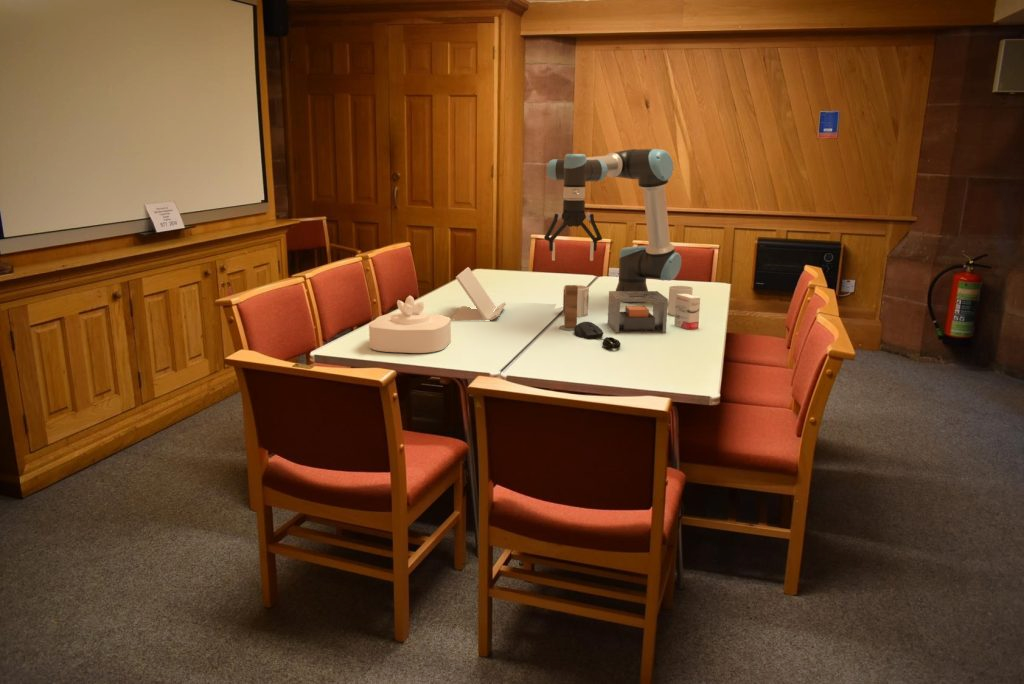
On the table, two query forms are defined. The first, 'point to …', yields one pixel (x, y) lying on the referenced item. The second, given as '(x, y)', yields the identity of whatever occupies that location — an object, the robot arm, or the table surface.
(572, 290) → the walnut block
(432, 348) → the pink flower lid box
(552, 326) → the table surface
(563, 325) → the coaster
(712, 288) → the table surface
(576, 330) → the computer mouse
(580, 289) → the mug
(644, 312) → the breaker button
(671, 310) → the mug
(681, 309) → the ink box
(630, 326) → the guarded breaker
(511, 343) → the table surface
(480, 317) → the tablet stand
